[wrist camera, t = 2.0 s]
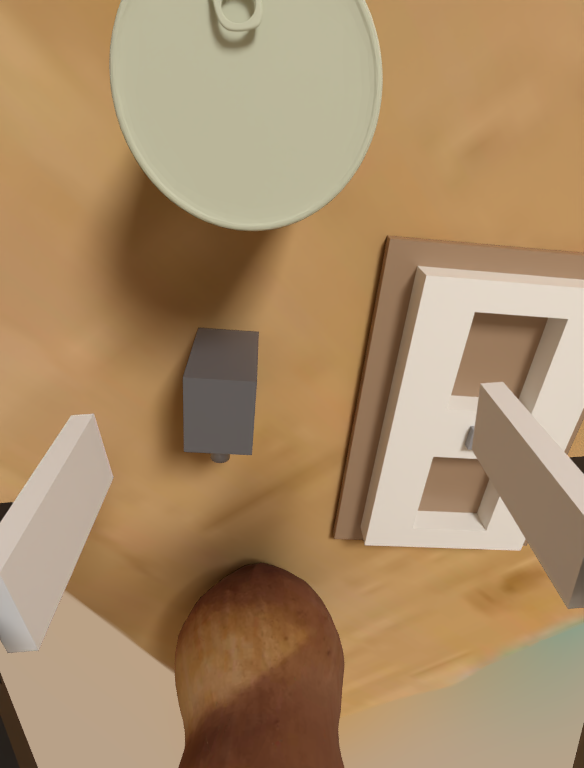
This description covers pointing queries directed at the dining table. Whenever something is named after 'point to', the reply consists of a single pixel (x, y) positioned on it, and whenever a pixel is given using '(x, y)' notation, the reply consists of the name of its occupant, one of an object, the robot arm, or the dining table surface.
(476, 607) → the dining table surface
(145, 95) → the can
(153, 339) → the dining table surface
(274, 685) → the butternut squash
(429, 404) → the socket board
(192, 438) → the plug
